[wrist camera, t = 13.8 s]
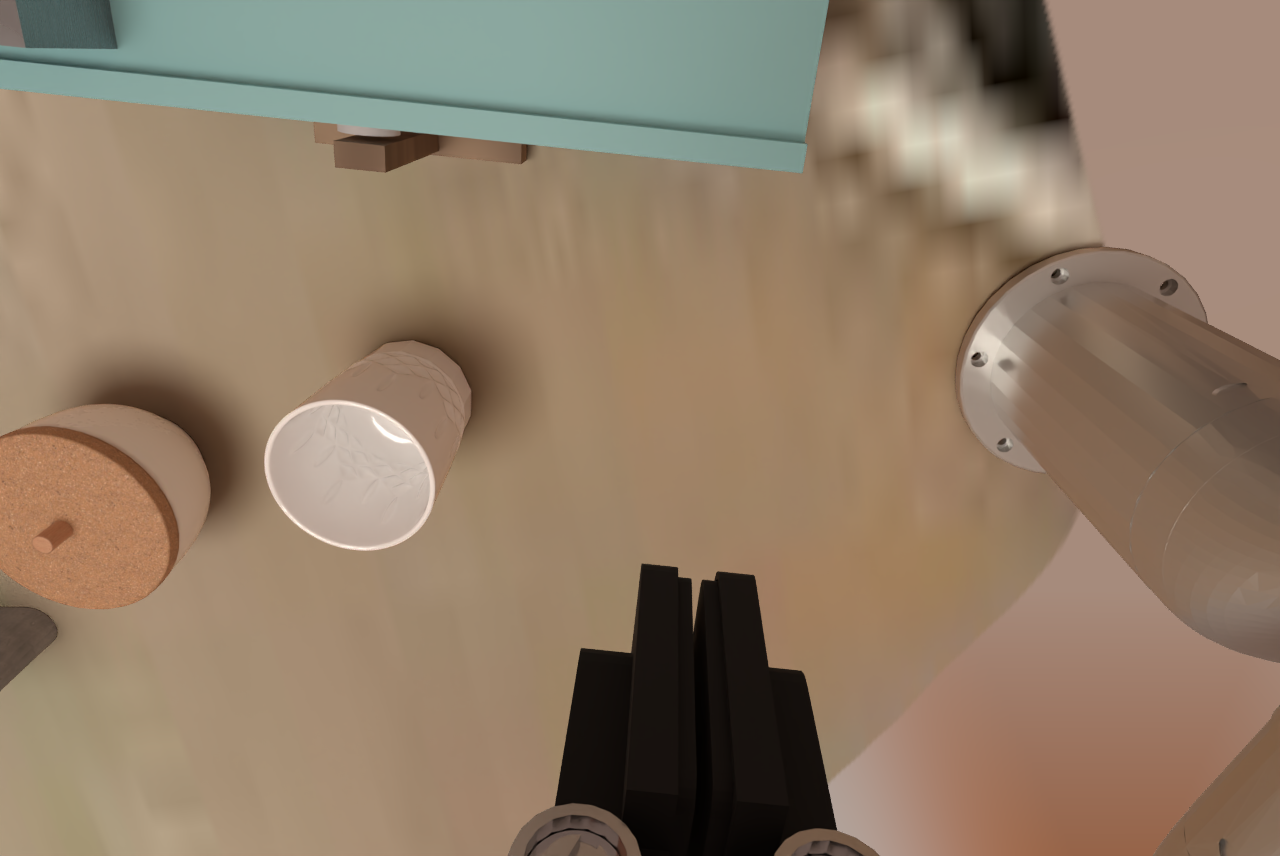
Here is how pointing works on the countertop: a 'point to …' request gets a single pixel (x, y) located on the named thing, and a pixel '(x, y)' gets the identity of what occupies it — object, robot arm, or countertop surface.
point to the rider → (57, 24)
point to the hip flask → (22, 639)
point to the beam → (472, 70)
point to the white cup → (371, 447)
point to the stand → (410, 148)
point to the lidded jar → (99, 504)
